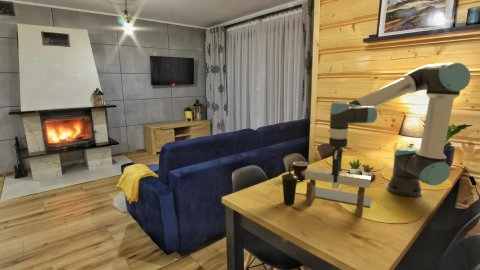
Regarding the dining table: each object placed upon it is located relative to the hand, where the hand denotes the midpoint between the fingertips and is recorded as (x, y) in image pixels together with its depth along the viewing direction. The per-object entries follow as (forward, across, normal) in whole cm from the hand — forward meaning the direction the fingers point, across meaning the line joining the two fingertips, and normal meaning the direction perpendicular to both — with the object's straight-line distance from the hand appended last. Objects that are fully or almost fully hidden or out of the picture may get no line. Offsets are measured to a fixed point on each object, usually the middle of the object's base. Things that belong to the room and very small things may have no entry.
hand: (336, 186), depth 120 cm
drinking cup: (+10, +6, -20) cm, 24 cm away
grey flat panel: (+10, -12, 0) cm, 15 cm away
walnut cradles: (+10, 0, 0) cm, 10 cm away
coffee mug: (+10, -26, -25) cm, 38 cm away
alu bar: (-2, 0, 0) cm, 2 cm away
